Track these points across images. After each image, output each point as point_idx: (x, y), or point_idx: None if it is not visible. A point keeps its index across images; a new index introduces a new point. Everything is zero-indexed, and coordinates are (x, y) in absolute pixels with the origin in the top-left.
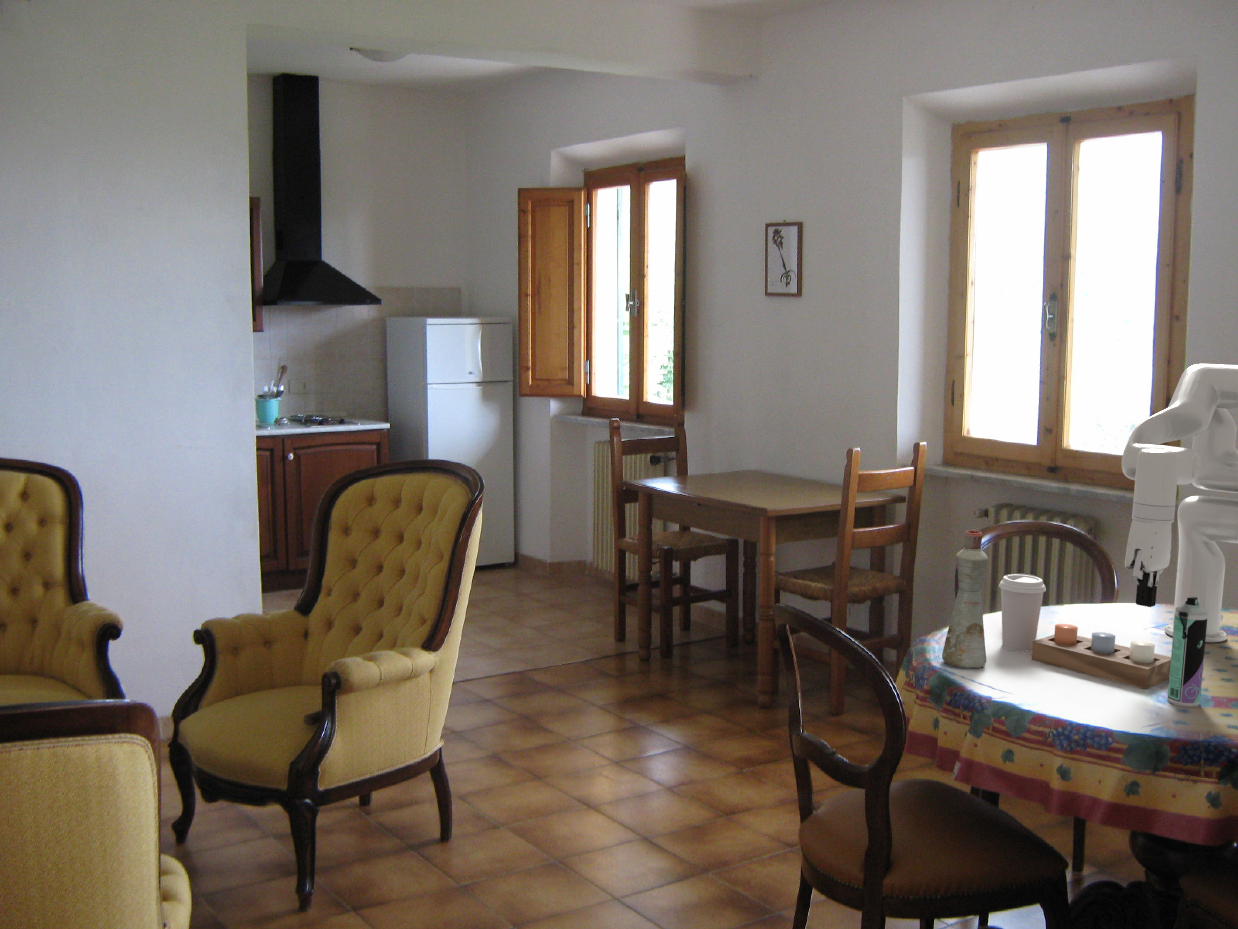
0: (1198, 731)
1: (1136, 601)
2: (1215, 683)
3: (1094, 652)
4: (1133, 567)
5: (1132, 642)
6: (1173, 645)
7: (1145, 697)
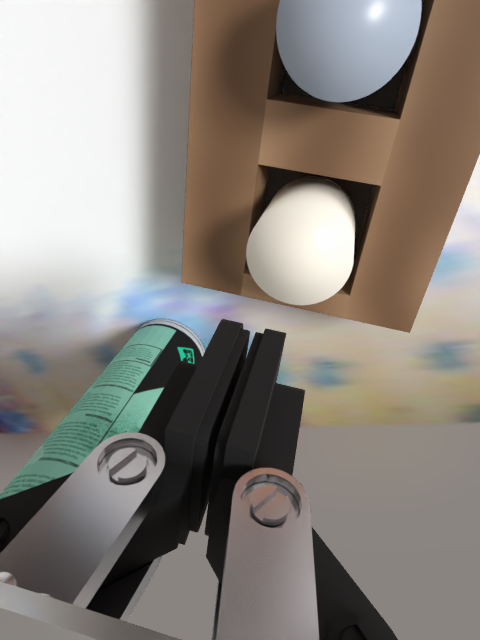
0: (16, 393)
1: (218, 330)
2: (418, 397)
3: (258, 19)
4: (19, 596)
5: (290, 213)
6: (53, 433)
7: (131, 269)
